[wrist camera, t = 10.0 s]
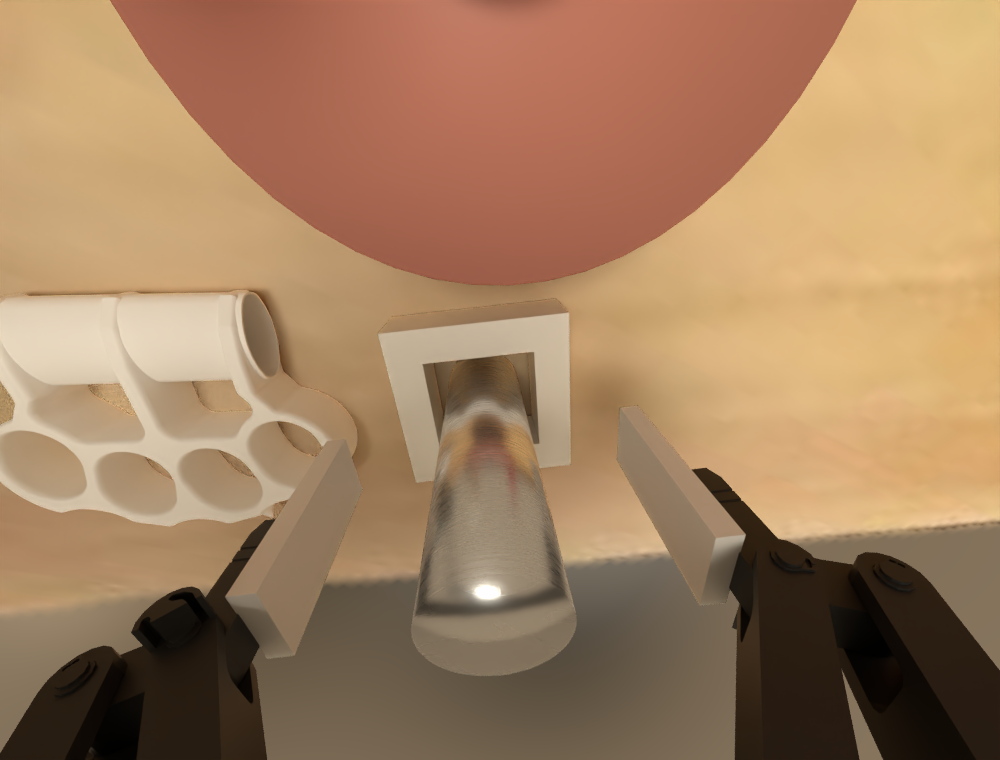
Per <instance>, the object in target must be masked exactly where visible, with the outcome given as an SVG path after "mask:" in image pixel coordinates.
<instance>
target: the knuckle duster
mask: <svg viewBox="0 0 1000 760" xmlns="http://www.w3.org/2000/svg"><path fill="white" fill-rule="evenodd" d="M214 380H232V381H233V384H234V387H235V389H236V392H237V394H238V395H239V396H241V397H242V398H243V399H244V400H246V401H247V402H248V403H249V404H250V406H251V408H252V411H224V412H216V411H212V410H209V409H207V408H206V407H205V406H203V405H202V403H201V402H200V400H199V398H198V396H197V393H196V391H195V389H194V386H193V384H192V381H214ZM0 381H1V383H2V384H3V386H4V387H5V389H6V390H7V392H8V393H9V394H10V396H11V397H12V399H13V400H14V402H15V408H14V413H13V419H11V420H8V421H6V422H4V423H2V424H0V482H1V483H2V484H4V485H5V486H6V487H7V488H8V489H10V490H11V491H12V492H14V493H15V494H17V495H18V496H20V497H22V498H23V499H25V500H27V501H29V502H31V503H33V504H36V505H38V506H40V507H43V508H46V509H49V510H52V511H56V512H61V513H64V512H68V511H71V510H79V509H91V510H100V511H105V512H109V513H113V514H116V515H119V516H122V517H125V518H127V519H129V520H131V521H133V522H138V523H146V524H154V525H162V526H170V527H172V526H174V525H176V524H178V523H181V522H184V521H188V520H195V519H208V520H216V521H221V522H225V523H228V524H230V523H234V522H238V521H242V520H246V519H249V518H253V517H257V516H260V515H265V516H268V517H271V518H274V504H276V503H278V502H281V501H285V500H289V498H290V497H291V495H292V494H293V492H294V491H295V489H296V488H297V486H298V485H299V483H300V481H301V480H302V478H303V477H304V475H305V474H306V472H307V471H308V469H309V468H310V466H311V465H312V463H313V462H314V460H315V459H316V457H317V456H311V455H308V454H305V453H303V452H301V451H299V450H298V449H296V448H295V447H294V446H293V445H292V444H291V443H290V442H289V441H288V439H287V438H286V436H285V435H284V434H283V432H282V431H281V429H280V427H279V425H278V421H283V422H289V423H293V424H296V425H298V426H300V427H302V428H304V429H306V430H307V431H309V432H310V433H311V434H313V435H314V436H315V438H316V439H317V440H318V441H319V443H320V444H321V446H322V447H323V446H324V445H325V443H326V442H327V441H331V440H340V439H346V442H347V445H348V448H349V451H350V454H351V457H352V456H353V454H354V452H355V450H356V447H357V442H358V433H357V428H356V425H355V423H354V420H353V418H352V417H351V415H350V414H349V412H348V411H347V410H346V409H345V408H344V407H343V406H342V405H341V404H340V403H339V402H338V401H336V400H335V399H333V398H332V397H330V396H329V395H327V394H325V393H323V392H320V391H318V390H315V389H311V388H307V387H302V386H300V385H299V384H297V383H296V382H295V381H294V380H293V379H292V378H291V377H290V376H288V375H287V374H286V373H285V372H284V371H283V369H282V365H281V362H280V352H279V343H278V338H277V335H276V331H275V328H274V324H273V321H272V318H271V316H270V314H269V312H268V310H267V308H266V306H265V304H264V303H263V301H262V300H261V298H260V297H259V296H258V295H257V294H256V293H254V292H249V291H248V290H234V291H231V292H202V293H148V294H140V293H138V292H124V293H120V294H95V295H42V296H27V295H26V294H11V295H5V296H0ZM118 383H120V384H121V386H122V388H123V390H124V392H125V393H126V395H127V397H128V399H129V401H130V403H131V405H132V407H133V409H134V411H135V413H136V414H137V415H132V414H128V413H125V412H124V411H122V410H121V409H119V408H118V407H116V406H115V405H113V404H111V403H109V402H107V401H105V400H103V399H100V398H98V397H97V396H95V395H94V394H93V393H92V392H91V391H90V389H89V384H118ZM219 450H221V451H224V452H227V453H229V454H231V455H233V456H235V457H237V458H238V459H240V460H241V461H242V462H243V463H245V464H246V465H247V467H248V468H249V469H250V470H251V471H252V473H253V474H254V475H255V476H256V478H255V477H250V476H247V475H245V474H242V473H240V472H239V471H237V470H236V469H234V468H233V467H232V466H231V465H230V464H229V463H228V462H227V460H226V459H225V458H224V457H223V456H222V454H221V453H220V452H219ZM146 457H147V458H149V459H151V460H153V461H155V462H157V463H158V464H160V465H161V466H162V467H163V468H165V469H166V470H167V471H168V473H169V474H170V475H171V476H172V478H173V479H171V478H168V477H166V476H164V475H162V474H160V473H159V472H157V471H156V470H155V469H154V468H153V467H152V466H151V465H150V464H149V463H148V461H147V460H146Z"/></svg>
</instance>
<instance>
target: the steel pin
mask: <svg viewBox="0 0 1000 760" xmlns="http://www.w3.org/2000/svg"><path fill="white" fill-rule="evenodd" d="M576 623H577V620H576V613H575V608H574V604H573V600H572V596H571V592H570V588H569V584H568V580H567V576H566V572H565V568H564V564H563V560H562V556H561V552H560V548H559V544H558V540H557V536H556V532H555V528H554V524H553V520H552V516H551V512H550V508H549V504H548V500H547V496H546V492H545V488H544V484H543V480H542V476H541V472H540V468H539V464H538V460H537V456H536V452H535V448H534V444H533V439H532V435H531V431H530V427H529V423H528V419H527V415H526V411H525V407H524V403H523V399H522V395H521V391H520V387H519V383H518V379H517V375H516V372H515V369H514V367H513V365H512V364H511V362H510V361H509V360H508V359H507V358H505V357H504V356H503V355H499V356H490V357H482V358H473V359H464V360H459V361H458V362H457V363H456V364H455V366H454V367H453V369H452V372H451V376H450V382H449V389H448V395H447V401H446V408H445V414H444V421H443V427H442V434H441V440H440V446H439V453H438V459H437V466H436V472H435V478H434V485H433V491H432V498H431V504H430V510H429V517H428V523H427V530H426V536H425V542H424V549H423V555H422V562H421V568H420V574H419V581H418V587H417V594H416V600H415V607H414V613H413V620H412V626H411V636H412V640H413V642H414V645H415V647H416V648H417V649H418V651H419V652H420V653H421V654H422V655H423V656H424V657H425V658H426V659H427V660H429V661H430V662H431V663H433V664H435V665H437V666H439V667H441V668H443V669H446V670H449V671H452V672H456V673H460V674H465V675H473V676H498V675H506V674H512V673H516V672H521V671H524V670H527V669H530V668H533V667H535V666H538V665H540V664H542V663H544V662H546V661H548V660H549V659H551V658H552V657H554V656H555V655H557V654H558V653H559V652H560V651H562V649H563V648H565V646H566V645H567V644H568V643H569V641H570V640H571V638H572V636H573V634H574V632H575V629H576Z"/></svg>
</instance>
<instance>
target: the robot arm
mask: <svg viewBox="0 0 1000 760" xmlns="http://www.w3.org/2000/svg"><path fill="white" fill-rule="evenodd" d="M617 461H618V463H619V465H620V466H621V468H622V470H623V472H624V473H625V475H626V477H627V479H628V480H629V482H630V484H631V486H632V487H633V489H634V491H635V493H636V495H637V496H638V498H639V500H640V502H641V503H642V505H643V507H644V509H645V510H646V512H647V514H648V516H649V517H650V519H651V521H652V523H653V524H654V526H655V528H656V530H657V532H658V533H659V535H660V537H661V539H662V540H663V542H664V544H665V546H666V547H667V549H668V551H669V553H670V554H671V556H672V558H673V560H674V561H675V563H676V565H677V567H678V568H679V570H680V572H681V574H682V575H683V577H684V579H685V581H686V582H687V584H688V586H689V588H690V589H691V591H692V593H693V595H694V597H695V598H696V600H697V602H698V604H699V605H700V606H703V605H712V604H720V603H726V601H727V598H728V594H729V591H730V590H731V591H732V593H733V594H734V596H735V597H736V599H737V600H738V602H739V603H740V604H739V607H738V610H737V614H736V617H735V620H734V623H733V628H734V629H737V661H736V717H735V718H736V719H735V720H736V721H735V760H859V755H858V750H857V745H856V740H855V735H854V730H853V725H852V720H851V715H850V710H849V705H848V700H847V695H846V690H845V685H844V680H843V675H842V671H843V673H844V675H845V677H846V679H847V681H848V684H849V686H850V688H851V690H852V692H853V695H854V697H855V699H856V701H857V703H858V706H859V708H860V710H861V712H862V714H863V717H864V719H865V721H866V723H867V725H868V727H869V730H870V732H871V734H872V736H873V738H874V741H875V743H876V745H877V747H878V749H879V751H880V754H881V756H882V758H883V760H1000V670H999V669H998V668H997V666H996V665H995V664H994V663H993V661H992V660H991V659H990V658H989V656H988V655H987V654H986V652H985V651H984V650H983V649H982V648H981V646H980V645H979V644H978V642H977V641H976V640H975V639H974V637H973V636H972V635H971V634H970V632H969V631H968V630H967V628H966V627H965V626H964V625H963V623H962V622H961V621H960V620H959V618H958V617H957V616H956V615H955V613H954V612H953V611H952V610H951V608H950V607H949V606H948V604H947V603H946V602H945V601H944V599H943V598H942V597H941V595H940V594H939V593H938V592H937V590H936V589H935V588H934V587H933V585H932V584H931V583H930V582H929V581H928V580H927V579H926V578H925V577H924V576H923V575H922V574H921V573H920V572H918V571H917V570H915V569H914V568H912V567H911V566H909V565H908V564H906V563H904V562H902V561H900V560H898V559H895V558H893V557H891V556H887V555H884V554H880V553H869V552H865V553H863V554H860V555H858V556H857V558H856V560H855V562H854V564H853V565H852V564H845V563H839V562H833V561H826V560H820V559H816V558H813V557H812V555H811V554H810V553H808V552H807V551H805V550H804V549H802V548H801V547H799V546H798V545H795V544H793V543H791V542H788V541H786V540H781V539H778V538H777V537H776V536H775V535H774V534H773V533H772V532H771V531H770V530H769V529H768V527H767V526H766V525H765V524H764V523H763V522H762V521H761V520H760V519H759V518H758V517H757V516H756V514H755V513H754V512H753V511H752V510H751V509H750V508H749V507H748V506H747V505H746V504H745V503H744V501H741V498H740V497H739V496H738V495H737V494H736V493H735V492H734V491H732V488H731V487H730V486H729V485H728V484H727V483H726V482H725V481H724V480H723V479H722V478H721V477H720V476H718V475H717V474H715V473H713V472H712V471H710V470H709V469H707V468H701V469H692V470H691V468H690V467H689V466H688V465H687V464H686V462H685V461H684V460H683V459H682V458H681V457H680V455H679V454H678V453H677V452H676V451H675V449H674V448H673V447H672V446H671V445H670V443H669V442H668V441H667V440H666V439H665V437H664V436H663V435H662V434H661V433H660V431H659V430H658V429H657V428H656V427H655V425H654V424H653V423H652V422H651V421H650V419H649V418H648V417H647V416H646V415H645V413H644V412H643V411H642V410H641V409H640V408H639V406H638V405H637V406H628V407H620V412H619V429H618V446H617ZM362 490H363V489H362V486H361V483H360V480H359V477H358V474H357V471H356V468H355V465H354V462H353V460H352V457H351V454H350V451H349V448H348V445H347V442H346V439H340V440H331V441H327V442H326V443H325V445H324V446H323V448H322V449H321V451H320V452H319V454H318V456H317V457H316V459H315V460H314V462H313V463H312V465H311V466H310V468H309V469H308V471H307V472H306V474H305V475H304V477H303V478H302V480H301V481H300V483H299V485H298V486H297V488H296V489H295V491H294V492H293V494H292V495H291V497H290V498H289V500H288V501H287V503H286V504H285V506H284V507H283V509H282V511H281V512H280V514H279V515H278V517H277V518H276V519H274V520H265V521H264V522H263V523H262V524H261V525H260V526H259V527H257V528H256V529H255V530H254V531H253V532H252V533H251V534H250V535H249V536H248V538H247V539H246V541H245V542H244V544H243V545H242V546H241V550H240V551H238V552H237V554H236V555H235V556H234V558H233V559H232V563H229V565H228V566H227V568H226V569H225V571H224V572H223V573H222V575H221V576H220V578H219V579H218V581H217V582H216V583H215V585H214V586H213V588H212V589H211V590H210V592H209V593H208V595H207V596H206V598H205V597H204V595H203V594H202V592H201V591H200V590H199V589H197V588H195V587H186V588H181V589H178V590H176V591H173V592H171V593H169V594H167V595H166V596H164V597H162V598H161V599H159V600H158V601H156V602H155V603H154V604H153V605H152V606H150V607H149V608H148V609H147V610H146V611H145V612H144V613H143V614H142V615H141V616H140V618H139V619H138V620H137V622H136V623H135V625H134V627H133V630H132V632H131V633H132V634H133V635H134V636H135V637H136V638H137V640H138V641H139V642H140V643H141V644H142V645H143V646H142V647H139V648H137V649H134V650H132V651H129V652H127V653H124V654H122V655H119V654H118V653H117V652H116V651H115V650H114V649H113V648H112V647H109V646H101V647H97V648H94V649H91V650H89V651H87V652H85V653H83V654H81V655H79V656H77V657H76V658H74V659H73V660H71V661H70V662H68V663H67V664H66V665H64V666H63V667H61V669H59V670H58V671H57V672H56V673H55V674H54V675H53V676H52V677H51V678H49V680H47V682H46V683H45V684H44V686H43V687H42V688H41V689H40V691H39V692H38V693H37V695H36V697H35V698H34V700H33V701H32V703H31V705H30V706H29V708H28V709H27V711H26V713H25V714H24V716H23V717H22V719H21V721H20V722H19V724H18V725H17V727H16V729H15V731H14V732H13V734H12V735H11V737H10V738H9V740H8V742H7V743H6V745H5V747H4V748H3V750H2V751H1V753H0V760H267V755H266V747H265V739H264V730H263V723H262V715H261V706H260V699H259V691H258V683H257V674H256V669H255V667H254V665H253V663H252V660H253V658H254V656H255V654H256V652H257V650H258V648H260V649H261V650H262V652H263V653H264V655H265V656H266V658H267V659H270V658H278V657H286V656H294V655H295V653H296V650H297V648H298V645H299V643H300V641H301V638H302V636H303V633H304V631H305V629H306V626H307V624H308V621H309V619H310V616H311V614H312V611H313V609H314V606H315V604H316V602H317V599H318V597H319V594H320V592H321V590H322V587H323V585H324V582H325V580H326V577H327V575H328V573H329V570H330V568H331V565H332V563H333V560H334V558H335V556H336V553H337V551H338V548H339V546H340V543H341V541H342V538H343V536H344V534H345V531H346V529H347V526H348V524H349V521H350V519H351V517H352V514H353V512H354V509H355V507H356V504H357V502H358V500H359V497H360V495H361V492H362ZM841 668H842V670H841Z"/></svg>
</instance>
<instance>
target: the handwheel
mask: <svg viewBox="0 0 1000 760" xmlns="http://www.w3.org/2000/svg"><path fill="white" fill-rule="evenodd" d="M110 1H111V2H112V4H113V6H114V7H115V9H116V10H117V12H118V13H119V15H120V17H121V18H122V20H123V21H124V23H125V24H126V26H127V28H128V29H129V31H130V32H131V34H132V35H133V37H134V39H135V40H136V42H137V43H138V45H139V46H140V48H141V50H142V51H143V53H144V54H145V56H146V57H147V59H148V60H149V62H150V63H151V64H152V66H153V67H154V68H155V70H156V71H157V72H158V74H159V75H160V76H161V78H162V79H163V80H164V81H165V83H166V84H167V85H168V87H169V88H170V89H171V91H172V92H173V93H174V95H175V96H176V97H177V98H178V100H179V101H180V102H181V104H182V105H183V106H184V108H185V109H186V110H187V112H188V113H189V114H190V116H191V117H192V118H193V119H194V120H195V121H196V122H197V123H198V124H199V125H200V126H201V127H202V129H203V130H204V131H205V132H206V133H207V134H208V135H209V136H210V137H211V138H212V139H213V141H214V142H215V143H216V144H217V145H218V146H219V147H220V148H221V149H222V150H223V151H224V153H225V154H226V155H227V156H228V157H229V158H230V159H231V160H232V161H233V162H234V163H235V164H236V165H237V166H238V167H239V168H241V169H242V170H243V171H244V172H245V173H246V174H247V175H248V176H250V177H251V178H252V179H253V180H254V181H255V182H256V183H257V184H258V185H260V186H261V187H262V188H263V189H264V190H265V191H266V192H267V193H268V194H270V195H271V196H272V197H273V198H274V199H275V200H277V201H278V202H280V203H281V204H282V205H284V206H285V207H286V208H288V209H289V210H291V211H292V212H293V213H295V214H296V215H297V216H299V217H300V218H302V219H303V220H304V221H306V222H307V223H308V224H310V225H311V226H313V227H314V228H316V229H317V230H319V231H321V232H323V233H324V234H326V235H328V236H330V237H331V238H333V239H335V240H337V241H338V242H340V243H342V244H344V245H345V246H347V247H349V248H351V249H352V250H354V251H356V252H359V253H361V254H363V255H366V256H368V257H370V258H373V259H375V260H377V261H380V262H382V263H384V264H387V265H389V266H392V267H394V268H397V269H401V270H404V271H408V272H411V273H415V274H418V275H422V276H425V277H429V278H432V279H438V280H445V281H451V282H458V283H464V284H471V285H516V284H525V283H533V282H542V281H549V280H553V279H557V278H561V277H565V276H569V275H573V274H577V273H580V272H584V271H587V270H590V269H592V268H595V267H597V266H600V265H602V264H605V263H607V262H610V261H612V260H615V259H617V258H620V257H622V256H624V255H626V254H628V253H630V252H631V251H633V250H635V249H637V248H639V247H641V246H642V245H644V244H646V243H648V242H650V241H652V240H653V239H655V238H657V237H659V236H660V235H662V234H663V233H665V232H666V231H667V230H669V229H670V228H672V227H673V226H674V225H676V224H677V223H679V222H680V221H682V220H683V219H684V218H686V217H687V216H689V215H690V214H691V213H693V212H694V211H695V210H697V209H698V208H699V207H700V206H701V205H702V204H703V203H705V202H706V201H707V200H708V199H709V198H710V197H711V196H712V195H714V194H715V193H716V192H717V191H718V190H719V189H720V188H722V187H723V186H724V185H725V184H726V183H727V182H728V181H730V180H731V178H732V177H733V176H734V175H735V174H736V173H737V172H738V171H739V170H740V169H741V168H742V167H743V166H744V164H745V163H746V162H747V161H748V160H749V159H750V158H751V157H752V156H753V155H754V154H755V153H756V152H757V150H758V149H759V148H760V147H761V146H762V145H763V144H764V143H765V142H766V141H767V139H768V138H769V137H770V135H771V134H772V133H773V131H774V130H775V129H776V128H777V126H778V125H779V124H780V122H781V121H782V120H783V118H784V117H785V116H786V114H787V113H788V112H789V111H790V109H791V108H792V107H793V105H794V104H795V103H796V101H797V100H798V99H799V98H800V96H801V95H802V93H803V91H804V90H805V88H806V87H807V85H808V84H809V82H810V80H811V79H812V77H813V76H814V74H815V73H816V71H817V69H818V68H819V66H820V65H821V63H822V62H823V60H824V58H825V57H826V55H827V54H828V52H829V51H830V49H831V47H832V46H833V44H834V42H835V41H836V39H837V37H838V35H839V33H840V31H841V29H842V27H843V25H844V23H845V22H846V20H847V18H848V16H849V14H850V12H851V10H852V8H853V6H854V4H855V3H856V1H857V0H110Z"/></svg>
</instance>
